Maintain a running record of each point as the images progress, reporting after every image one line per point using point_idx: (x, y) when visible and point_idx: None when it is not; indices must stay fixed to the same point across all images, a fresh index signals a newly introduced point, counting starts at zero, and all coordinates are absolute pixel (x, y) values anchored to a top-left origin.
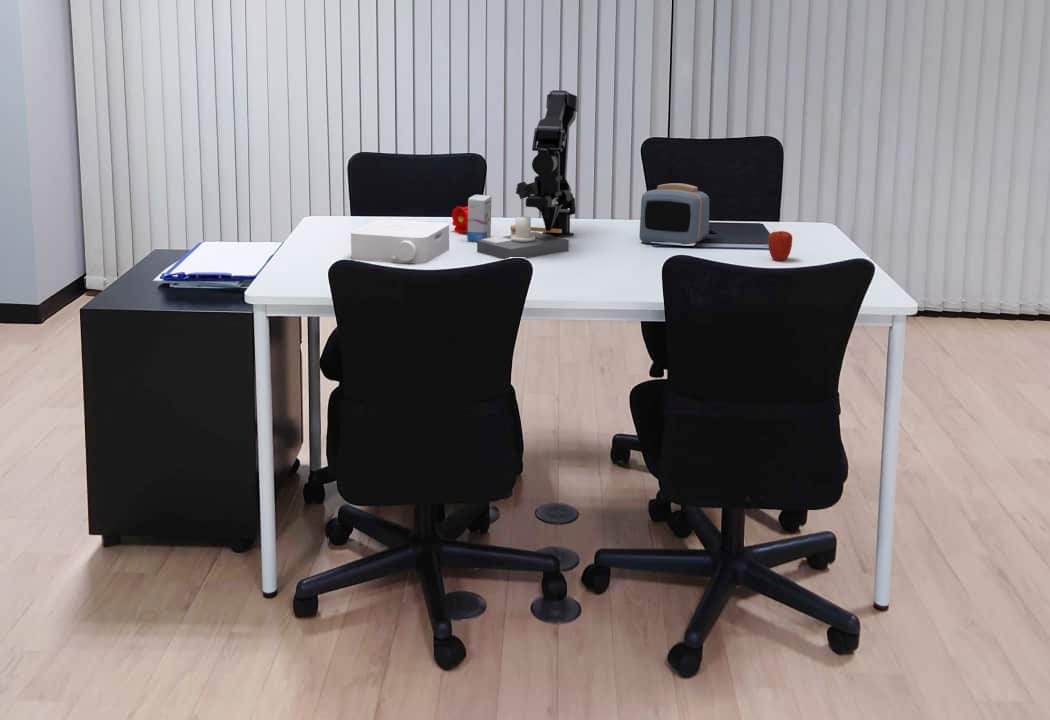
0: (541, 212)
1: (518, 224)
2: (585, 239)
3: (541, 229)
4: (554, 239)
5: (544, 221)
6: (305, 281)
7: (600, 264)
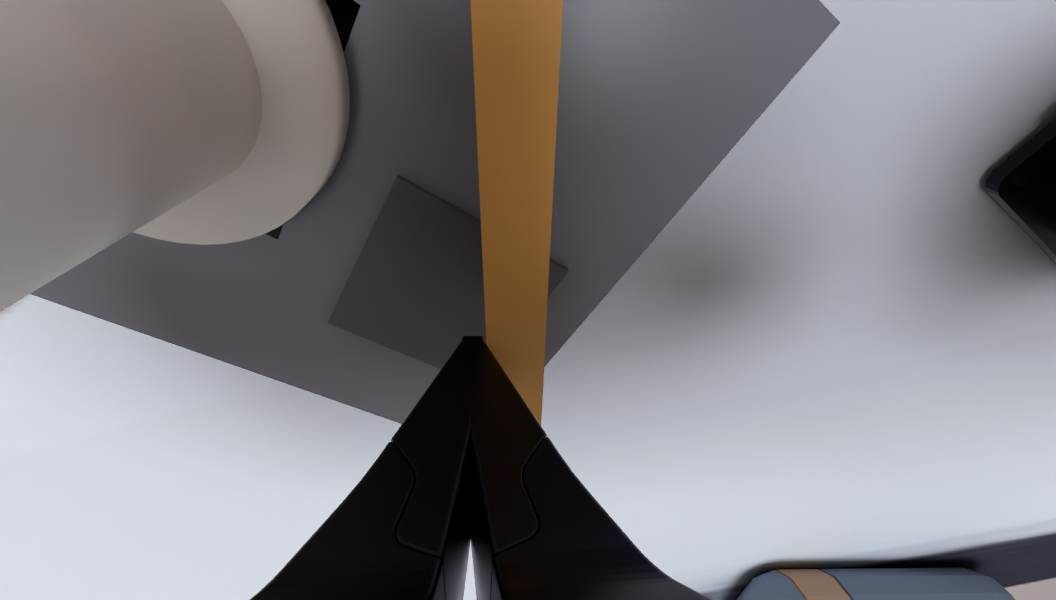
0: (281, 580)
1: None
2: (884, 373)
3: (483, 275)
4: (429, 367)
5: (412, 419)
6: None
7: (243, 555)
